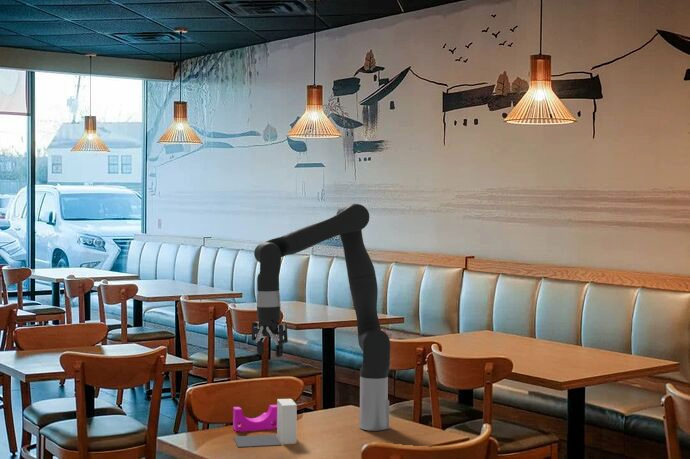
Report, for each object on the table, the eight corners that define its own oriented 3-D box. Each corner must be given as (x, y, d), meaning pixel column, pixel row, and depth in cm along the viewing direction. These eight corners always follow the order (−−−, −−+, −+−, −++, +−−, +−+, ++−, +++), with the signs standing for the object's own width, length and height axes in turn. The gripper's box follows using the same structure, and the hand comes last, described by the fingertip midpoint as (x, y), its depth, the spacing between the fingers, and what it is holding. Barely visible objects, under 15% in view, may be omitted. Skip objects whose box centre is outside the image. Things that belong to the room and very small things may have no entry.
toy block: (275, 425, 306) (275, 403, 305) (279, 429, 300) (280, 406, 300) (231, 428, 301) (231, 405, 301) (235, 432, 295) (235, 409, 295)
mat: (275, 435, 290) (275, 434, 290) (281, 445, 278) (281, 444, 278) (233, 437, 287) (233, 436, 287) (238, 447, 275) (238, 446, 275)
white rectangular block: (290, 436, 290) (291, 398, 290) (296, 443, 280) (296, 404, 280) (276, 436, 289) (277, 399, 289) (282, 444, 279) (282, 405, 279)
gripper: (292, 305, 286) (293, 356, 287) (262, 302, 296) (263, 352, 296) (275, 307, 281) (276, 359, 281) (244, 304, 290) (245, 355, 291)
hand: (269, 355), depth 289 cm, fingers open, 8 cm apart
